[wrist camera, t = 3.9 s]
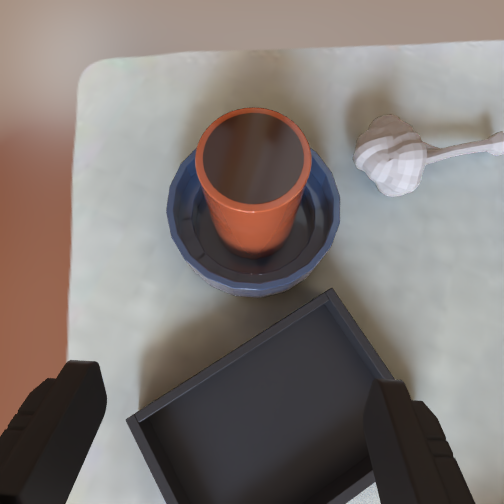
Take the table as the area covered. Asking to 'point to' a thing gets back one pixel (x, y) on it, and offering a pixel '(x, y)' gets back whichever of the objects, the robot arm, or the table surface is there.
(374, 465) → the robot arm
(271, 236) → the cup
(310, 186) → the bowl
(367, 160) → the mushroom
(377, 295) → the table surface
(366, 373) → the tray
